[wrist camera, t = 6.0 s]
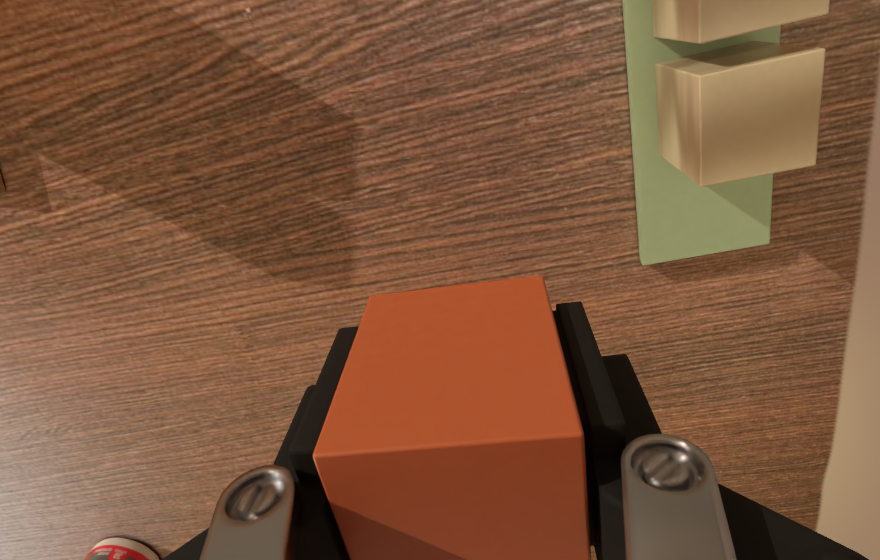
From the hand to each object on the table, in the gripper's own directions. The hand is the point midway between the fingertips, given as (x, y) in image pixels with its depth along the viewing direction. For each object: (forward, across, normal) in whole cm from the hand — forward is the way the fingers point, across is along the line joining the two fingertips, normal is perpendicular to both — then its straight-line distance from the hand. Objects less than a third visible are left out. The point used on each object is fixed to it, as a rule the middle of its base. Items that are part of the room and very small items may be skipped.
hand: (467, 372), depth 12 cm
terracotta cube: (+1, 0, 0) cm, 1 cm away
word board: (+15, -11, -2) cm, 19 cm away
